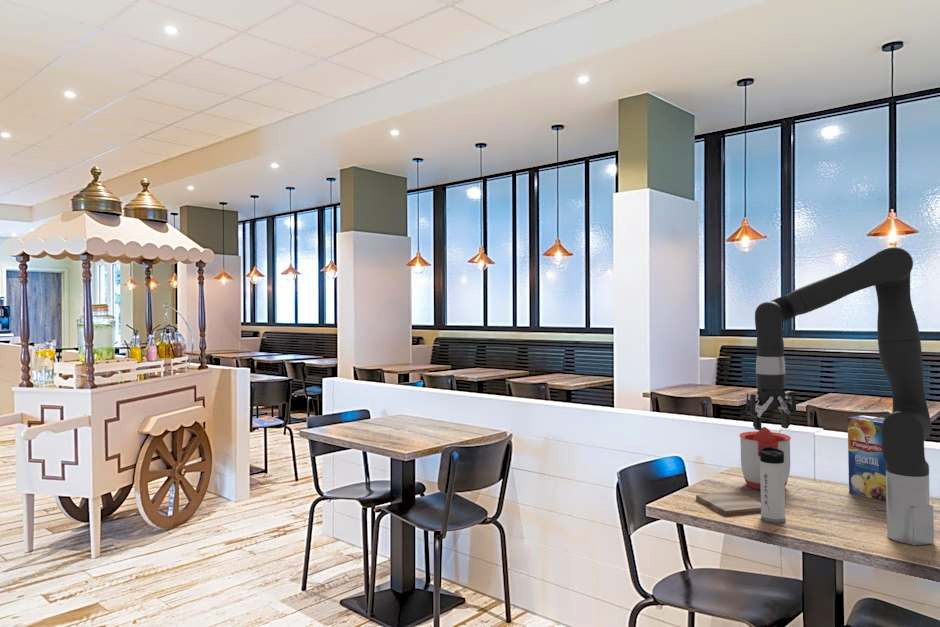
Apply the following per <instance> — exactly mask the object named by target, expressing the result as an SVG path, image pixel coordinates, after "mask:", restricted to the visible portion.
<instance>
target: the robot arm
mask: <svg viewBox="0 0 940 627" xmlns="http://www.w3.org/2000/svg"><path fill="white" fill-rule="evenodd" d="M913 266H914V260H913V258H912V255H911V254H910V253H909V252H908V251H907V250H906V249H904V248H902V247H901V248H900V247H897V246H889V247H884V248H882V249H880V250H878V251H877V252H875V253H874V254H872V256H870V257H868V258H866V259H865V260H863V261H862V262H860V263H857V264H855V265H854V266H852V267H849V268H847V269H845V270H843V271H841V272H838V273H836V274H833V275H830V276H826V277H825V278H823V279H822V278H821V279H819V280H816V281H814V282H811V283H809V284H806V285H804V286H802V287H798V288H796V289H795V290H793V291H790V292H789V293H788V294H786V295H783V296H779V297H777V298H775V299H771V300H769V301H764V302H762V303H760V304H759V305H757V307H756V309H755V311H754V324H755V332H756V360H755V361H756V362H755V377H756V378H755V381H756V382H755V383H756V390H757V391H756V393H751V392H747V393H746V408H745V413H746V414H747V415H751V417H752V426H753V428H754V429H755V430H756V431H759V430H761V429H762V428H763V427H762V415H763V413H764V412H766V411H767V409H772V408H775V409H778V410H779V411H780V413H781V415H780V426H781V428H783V429H789V426H790V424H791V423H790V420H791V419H790V417H791V416H790V415H791V414H793V413H796V412H797V402H796V401H797V400H796V393H795V391H793V390H792V391H791V390H786V391H785V389H786V360H785V345H784V344H785V342H784V338H783V322H785V321H788V320H791V319H793V318H796V317H797V316H800V315H804V314H807V313H810V312H813V311H815V310H818V309H820V308H823V307H825V306H828V305H830V304H833V303H834V302H836V301H838V300H840V299H843V298H845V297H847V296H849V295H852V294H853V293H856V292H860V291H861V290H864V289H867V288H871V287H874V288H875V292H876V297H877V323H876V324H877V327H876V328H877V330H876V331H877V345H878V353H879V354H878V356H879V360H880V363H881V366H882V369H883V372H884V373H885V376H886V378H887V380H888V383H889V386H890V389H891V395H892V412H891V413H889V414H888V415H886V416H885V417H884V421H883V424H882V449H883V458H884V461H885V464H886V502H885V503H886V536H887V537H888V538H889V539H891V540H893V541H895V542H899V543H901V544H902V543H903V544H908V545H912V546H923V545H931V544H935V533H934V532H935V530H934V525H935V524H934V517H935V516H934V506H933V505H932V504H931V503H930V501H931V500H930V465H929V462H928V461H927V460H926V455H925V441H926V440H928V439H929V437H930V435H931V434H932V430H933V428H932V427H933V426H932V424H933V423H932V420H931V415H930V411H929V407H928V404H927V399H926V395H925V394H926V393H925V386H924V366H923V353H922V343H921V335H920V330H919V325H918V322H917V317H916V314H915V311H914V307H913V304H912V297H911V273H912V270H913ZM784 400H785V401H786V402H785V401H784ZM756 401H757V402H756Z"/></svg>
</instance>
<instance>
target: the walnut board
mask: <svg viewBox="0 0 940 627" xmlns="http://www.w3.org/2000/svg"><path fill="white" fill-rule="evenodd" d="M695 500H696V501H697V502H699V503H701V504H703V505H704V506H706V507H709V508H710V509H712V510H714V511H715V512H717V511H718V513H720V514H721V515H723V516H726V517H730V516H731V517H732V516H737V515H738V516H742V515H750V514H761V501H757V500H755V499H753V498H751V497H749V496H748V495H747V496H746V495H745V494H742V493H740V492H738V491H737V490H736V491H729V492H728V491H727V492H725V491H724V492H715V493H705V494H696V495H695Z"/></svg>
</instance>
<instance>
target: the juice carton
mask: <svg viewBox="0 0 940 627" xmlns="http://www.w3.org/2000/svg"><path fill="white" fill-rule="evenodd" d="M884 419H885V417H877V416H868V415H864V414H863V415H855V416H850V417H849V416H848V417H847V443H848V444H847V448H848V449H847V452H848V453H847V454H848V455H847V456H848V457H847V458H848V460H847V461H848V462H847V463H848V493H850V494H854V495H858V496H863V497H865V498H869V499H874V500H876V501H880V502H881V501H882V502H885V503H886V464H885V461H884V458H883V449H882V424H883V421H884Z"/></svg>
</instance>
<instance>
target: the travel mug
mask: <svg viewBox="0 0 940 627" xmlns="http://www.w3.org/2000/svg"><path fill="white" fill-rule="evenodd" d="M760 457H761V458H760V482H761V489H760V503H761V513H760V517H761V519H762V520H763V521H765V522H768V523H774V524H782V523H785V521H787V520H786V486H785V469H784V452H783V451H781V450H779V449H775V448H772V447H765V448H763V449H761V450H760Z"/></svg>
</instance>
